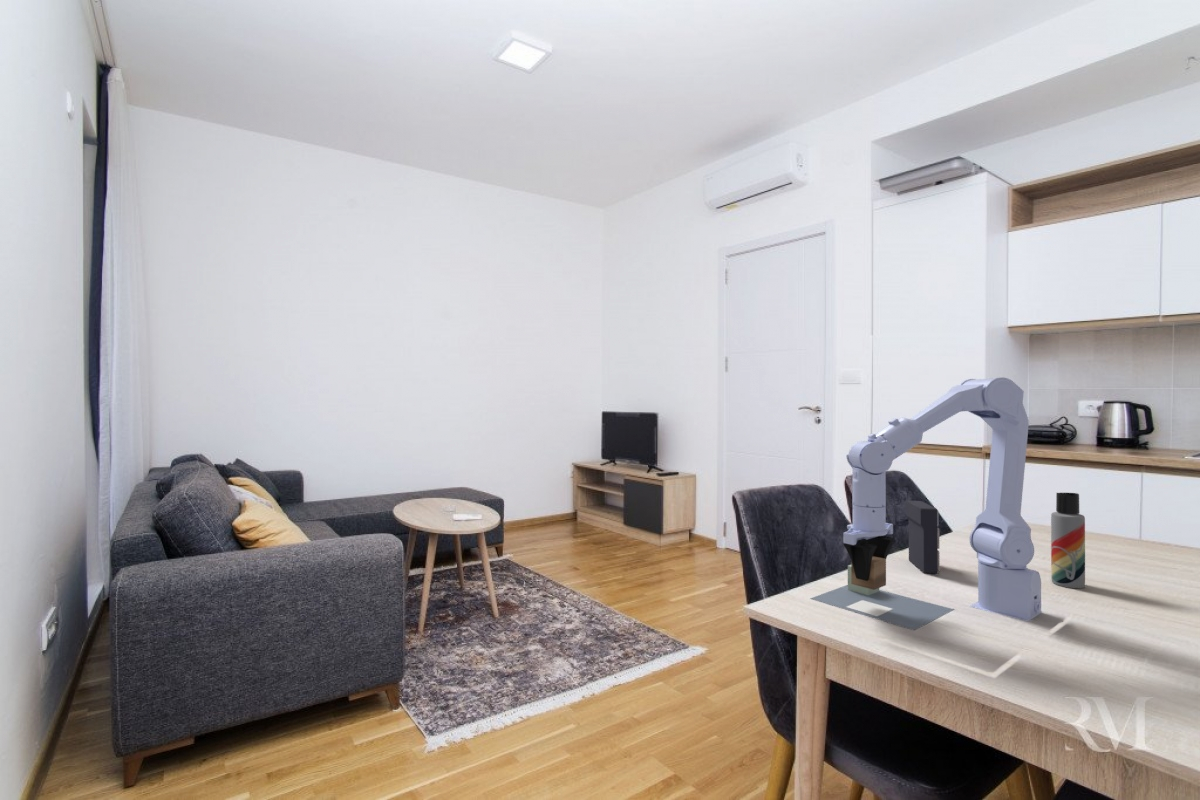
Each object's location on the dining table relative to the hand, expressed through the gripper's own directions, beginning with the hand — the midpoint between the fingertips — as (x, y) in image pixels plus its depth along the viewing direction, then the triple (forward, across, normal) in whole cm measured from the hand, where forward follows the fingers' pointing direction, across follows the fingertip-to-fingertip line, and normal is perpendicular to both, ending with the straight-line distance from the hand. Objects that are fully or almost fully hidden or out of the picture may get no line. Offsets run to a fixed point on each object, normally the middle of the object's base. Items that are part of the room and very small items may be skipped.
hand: (869, 576), depth 110 cm
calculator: (+7, -38, -7) cm, 39 cm away
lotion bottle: (+7, -49, +18) cm, 53 cm away
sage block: (+6, -9, -6) cm, 12 cm away
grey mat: (+7, -4, 0) cm, 8 cm away
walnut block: (+2, 0, 0) cm, 2 cm away
